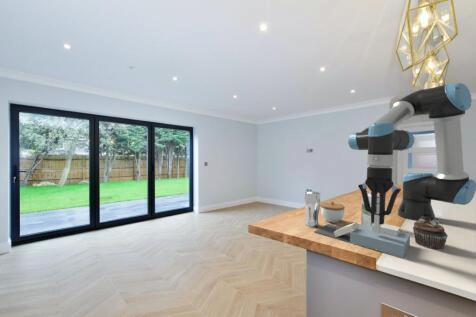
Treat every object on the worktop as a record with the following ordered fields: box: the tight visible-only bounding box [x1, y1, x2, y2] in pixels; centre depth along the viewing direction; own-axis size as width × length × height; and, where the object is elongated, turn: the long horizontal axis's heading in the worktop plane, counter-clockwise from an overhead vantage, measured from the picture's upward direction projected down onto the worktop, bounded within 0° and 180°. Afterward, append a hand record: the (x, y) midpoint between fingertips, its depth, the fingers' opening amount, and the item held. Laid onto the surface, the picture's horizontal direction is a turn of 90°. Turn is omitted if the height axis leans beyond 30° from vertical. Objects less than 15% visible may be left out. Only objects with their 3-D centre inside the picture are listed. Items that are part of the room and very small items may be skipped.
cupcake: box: [412, 216, 448, 250], centre depth 81 cm, size 10×10×10 cm
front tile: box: [333, 221, 360, 237], centre depth 86 cm, size 6×8×2 cm
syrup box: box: [360, 192, 380, 226], centre depth 101 cm, size 6×6×14 cm
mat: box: [313, 223, 350, 243], centre depth 91 cm, size 14×14×1 cm
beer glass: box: [304, 190, 322, 228], centre depth 100 cm, size 7×7×15 cm
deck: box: [349, 223, 411, 259], centre depth 81 cm, size 14×16×4 cm
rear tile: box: [372, 223, 401, 236], centre depth 83 cm, size 6×8×2 cm
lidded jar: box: [320, 201, 346, 224], centre depth 107 cm, size 11×11×9 cm
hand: (377, 232), depth 78 cm, fingers closed
